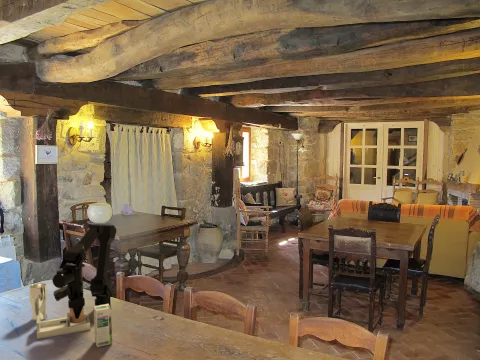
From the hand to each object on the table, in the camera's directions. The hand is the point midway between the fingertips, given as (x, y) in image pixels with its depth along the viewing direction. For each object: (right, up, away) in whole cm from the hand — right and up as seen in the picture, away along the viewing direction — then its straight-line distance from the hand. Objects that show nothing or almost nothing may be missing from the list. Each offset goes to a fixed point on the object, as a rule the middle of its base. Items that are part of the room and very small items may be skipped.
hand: (76, 315), depth 175 cm
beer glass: (-20, -4, +9) cm, 22 cm away
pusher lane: (-5, -5, -2) cm, 7 cm away
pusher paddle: (-4, -4, -1) cm, 6 cm away
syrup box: (+16, -6, -14) cm, 22 cm away
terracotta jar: (0, -2, 0) cm, 2 cm away
